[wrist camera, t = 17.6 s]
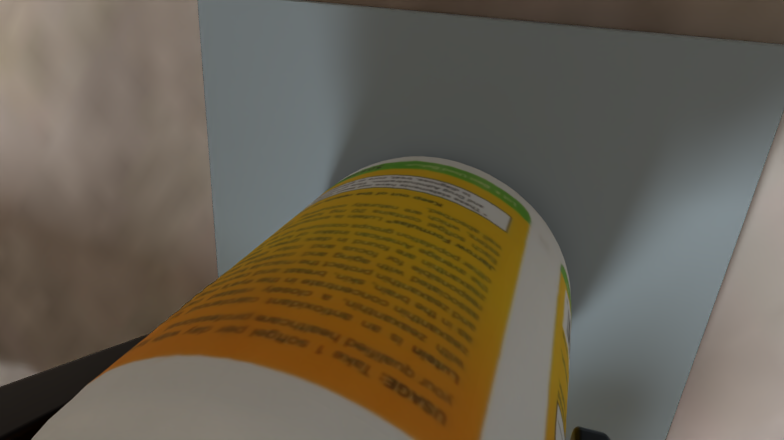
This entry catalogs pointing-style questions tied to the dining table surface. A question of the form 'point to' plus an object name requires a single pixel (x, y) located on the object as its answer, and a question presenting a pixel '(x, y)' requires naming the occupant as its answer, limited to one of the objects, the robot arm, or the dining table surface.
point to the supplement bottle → (360, 326)
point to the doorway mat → (513, 157)
